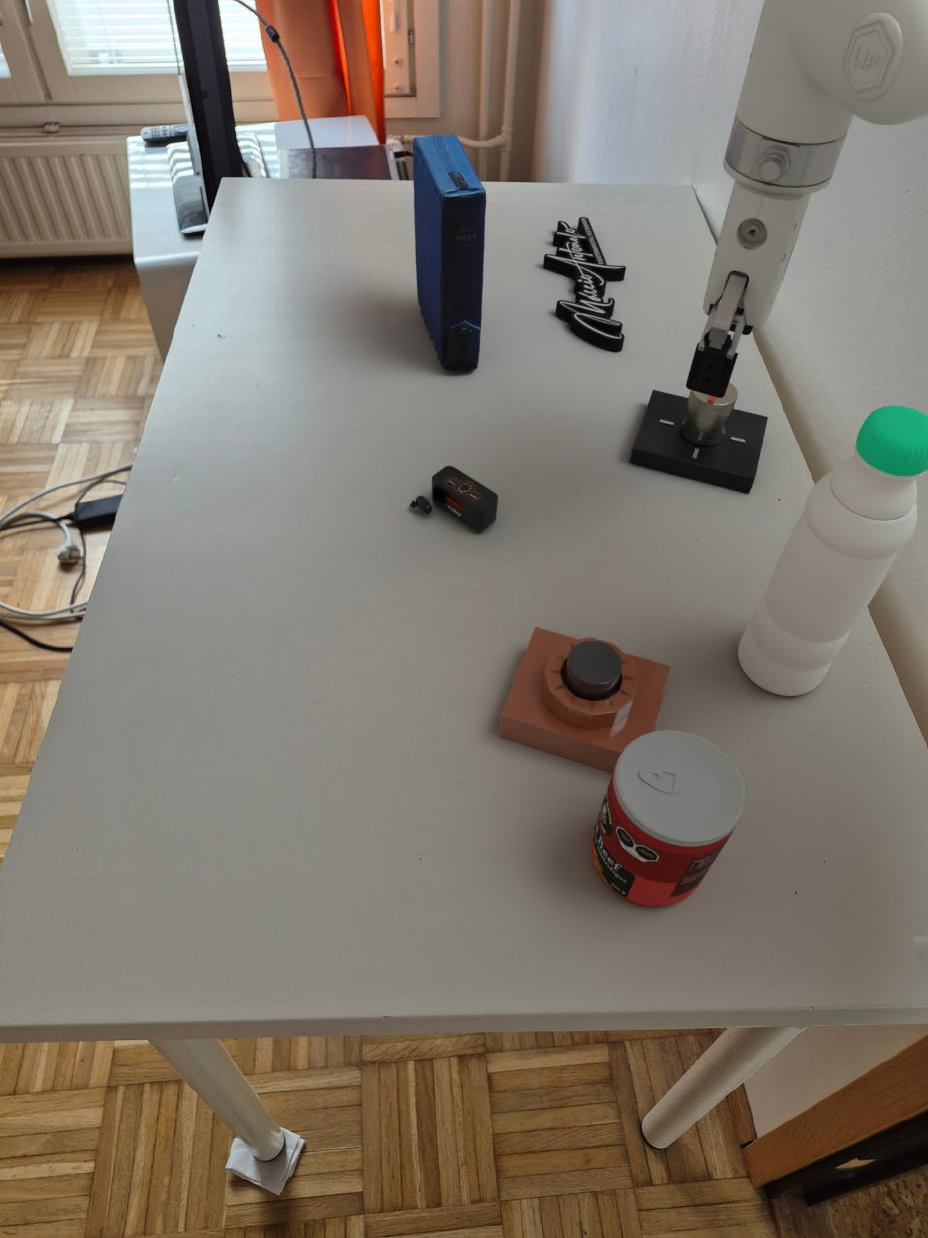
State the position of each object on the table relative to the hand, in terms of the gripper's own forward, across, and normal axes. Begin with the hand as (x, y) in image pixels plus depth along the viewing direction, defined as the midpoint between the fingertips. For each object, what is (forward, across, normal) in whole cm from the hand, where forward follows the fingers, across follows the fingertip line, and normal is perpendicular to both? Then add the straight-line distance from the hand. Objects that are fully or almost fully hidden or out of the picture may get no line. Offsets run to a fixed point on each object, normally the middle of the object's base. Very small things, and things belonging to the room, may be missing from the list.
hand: (719, 359), depth 75 cm
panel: (+15, +7, 0) cm, 16 cm away
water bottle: (+15, -17, -13) cm, 26 cm away
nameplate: (+15, +30, +20) cm, 39 cm away
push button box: (+15, -28, 0) cm, 32 cm away
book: (+15, +12, +31) cm, 36 cm away
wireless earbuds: (+15, -13, +18) cm, 27 cm away
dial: (+13, +7, 0) cm, 14 cm away
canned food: (+15, -38, -8) cm, 42 cm away
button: (+10, -28, 0) cm, 30 cm away
